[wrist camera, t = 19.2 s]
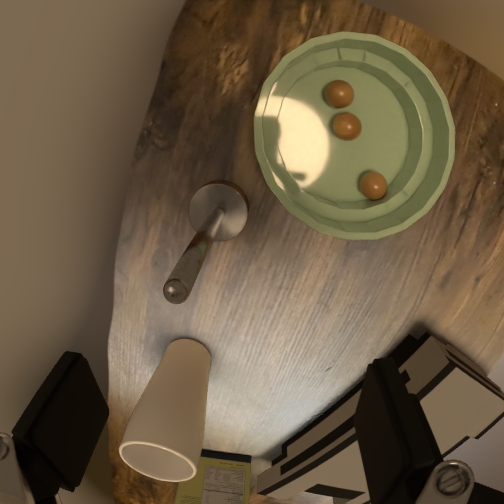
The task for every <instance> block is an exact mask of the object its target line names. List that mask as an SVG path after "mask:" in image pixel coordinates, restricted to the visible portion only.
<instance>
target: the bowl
mask: <svg viewBox="0 0 504 504" xmlns="http://www.w3.org/2000/svg"><path fill="white" fill-rule="evenodd" d="M334 80H343V81H346V82H347V83H349V84H350V85H351V86H352V88H353V90H354V100H353V102H352V103H351V104H350V105H349V106H347V107H345V108H336V107H333V106H332V105H330V104H329V103H328V101H327V100H326V97H325V89H326V86H327V85H328V84H329V83H330V82H332V81H334ZM343 112H349V113H352V114H354V115H356V116H357V117H358V118H359V120H360V121H361V125H362V130H361V133H360V135H359V136H358V137H357V138H356V139H354V140H352V141H344V140H341V139H340V138H338V137H337V136H336V135H335V133H334V131H333V126H332V125H333V121H334V119H335V117H336V116H337V115H338V114H340V113H343ZM253 119H254V144H255V154H256V156H257V159H258V162H259V164H260V167H261V170H262V172H263V175H264V178H265V181H266V183H267V185H268V187H269V188H270V189H271V190H272V192H273V193H274V194H275V196H276V197H277V198H278V199H279V201H280V202H281V203H282V205H283V206H284V207H285V208H286V210H287V211H288V212H289V213H290V214H292V215H293V216H295V217H296V218H298V219H299V220H301V221H302V222H304V223H305V224H306V225H308V226H309V227H311V228H312V229H314V230H316V231H317V232H321V233H324V234H327V235H331V236H334V237H337V238H340V239H344V240H376V239H380V238H383V237H386V236H389V235H392V234H394V233H397V232H400V231H403V230H405V229H406V228H408V227H409V226H410V225H412V224H413V223H414V222H416V221H417V220H418V219H420V218H421V217H422V216H424V215H425V214H426V213H427V212H428V211H429V210H430V209H431V207H432V206H433V204H434V203H435V202H436V200H437V199H438V197H439V196H440V195H441V193H442V192H443V190H444V189H445V187H446V184H447V181H448V178H449V175H450V172H451V169H452V165H453V162H454V155H455V127H454V123H453V119H452V115H451V111H450V107H449V104H448V100H447V98H446V96H445V94H444V93H443V91H442V89H441V87H440V86H439V84H438V82H437V81H436V79H435V78H434V76H433V74H432V73H431V72H430V70H429V69H428V68H427V67H426V66H425V65H423V64H422V63H421V62H420V61H419V60H418V59H417V58H416V57H415V56H414V55H412V54H411V53H410V52H409V51H408V50H407V49H405V48H403V47H401V46H399V45H397V44H395V43H392V42H390V41H388V40H386V39H384V38H381V37H379V36H376V35H371V34H363V33H354V32H338V33H333V34H329V35H324V36H320V37H316V38H312V39H310V40H308V41H307V42H305V43H303V44H302V45H300V46H299V47H297V48H296V49H294V50H293V51H291V52H290V53H288V54H286V55H285V56H284V57H283V58H282V59H281V60H280V62H279V63H278V64H277V66H276V67H275V68H274V70H273V71H272V72H271V74H270V75H269V77H268V78H267V79H266V81H265V82H264V84H263V86H262V90H261V93H260V96H259V100H258V103H257V106H256V110H255V113H254V118H253ZM373 171H374V172H378V173H380V174H382V175H383V176H384V177H385V179H386V181H387V191H386V193H385V195H384V196H383V197H382V198H380V199H377V200H371V199H368V198H367V197H365V196H364V195H363V194H362V192H361V189H360V181H361V178H362V177H363V176H364V175H365V174H366V173H368V172H373Z"/></svg>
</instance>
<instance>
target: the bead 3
mask: <svg viewBox="0 0 504 504" xmlns="http://www.w3.org/2000/svg"><path fill="white" fill-rule="evenodd" d="M360 189H361V192H362V194H363V195H364V196H365V197H367V198H368V199H371V200H377V199H380V198H382V197H383V196H384V195H385V193H386V191H387V181H386V179H385V177H384V176H383V175H382V174H380V173H378V172H374V171H373V172H368V173H366V174H365V175H364V176H363V177H362V178H361V181H360Z"/></svg>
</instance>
